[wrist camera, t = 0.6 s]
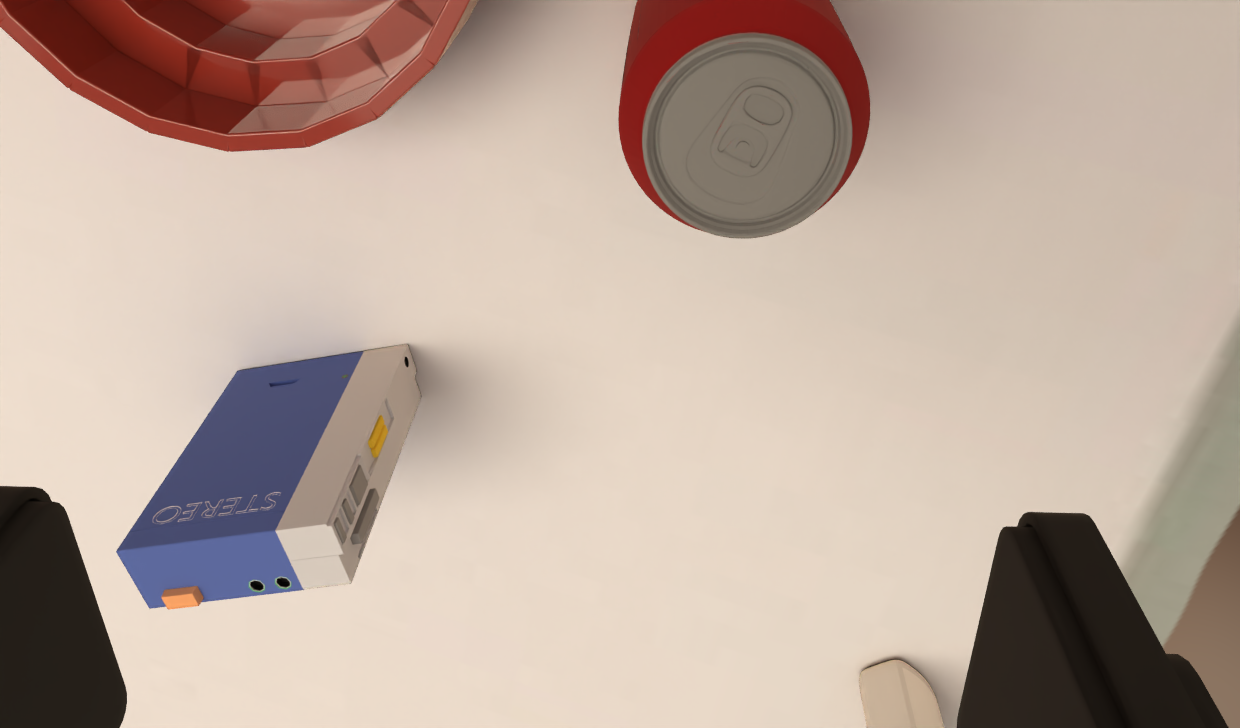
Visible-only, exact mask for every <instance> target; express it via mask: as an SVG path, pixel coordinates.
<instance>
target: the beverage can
mask: <svg viewBox="0 0 1240 728" xmlns="http://www.w3.org/2000/svg"><path fill="white" fill-rule="evenodd" d="M869 121H870V97H869V89H868V84H867V80H866V76H865V73H864V70H863V67H862V65H861V62H860V60H859V58H858V56H857V54H856V51H855V49H854V47H853V45H852V43H851V41H850V39H849V37H848V35H847V33H846V31H845V29H844V27H843V25H842V23H841V21H840V19H839V17H838V15H837V14H836V12H835V10H834V8H833V6H832V4H831V2H830V0H637V3H636V7H635V12H634V16H633V21H632V26H631V31H630V36H629V42H628V47H627V53H626V60H625V67H624V74H623V81H622V88H621V97H620V105H619V133H620V141H621V145H622V150H623V153H624V156H625V159H626V162H627V164H628V166H629V169H630V171H631V173H632V174H633V176H634V178H635V180H636V181H637V183H638V184H639V186H640V187H641V189H642V190H643V191H644V192H645V194H646V195H647V196H648V197H649V198H650V199H651V200H652V201H653V202H654V203H655V204H656V205H657V206H658V207H659V208H660V209H662V210H663V211H664V212H666V213H667V214H668V215H670V216H672V217H673V218H675V219H676V220H678V221H680V222H682V223H684V224H686V225H688V226H690V227H693V228H695V229H698V230H701V231H704V232H708V233H711V234H714V235H718V236H723V237H729V238H756V237H763V236H768V235H772V234H775V233H778V232H781V231H784V230H786V229H788V228H791V227H793V226H795V225H797V224H799V223H800V222H802V221H803V220H805V219H806V218H808V217H809V216H810V215H812V214H813V213H815V212H816V211H817V210H819V209H820V208H821V207H823V206H824V205H825V204H826V203H827V202H828V201H829V200H830V199H831V198H832V197H833V196H834V195H835V194H836V193H837V192H838V191H839V190H840V188H841V187H842V186H843V185H844V184H845V182H846V181H847V179H848V178H849V176H850V175H851V173H852V172H853V170H854V168H855V166H856V164H857V162H858V160H859V158H860V156H861V153H862V151H863V148H864V145H865V141H866V138H867V134H868V128H869Z"/></svg>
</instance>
